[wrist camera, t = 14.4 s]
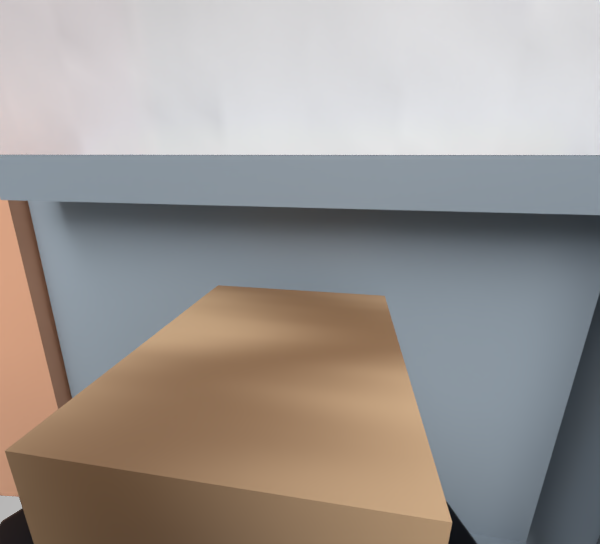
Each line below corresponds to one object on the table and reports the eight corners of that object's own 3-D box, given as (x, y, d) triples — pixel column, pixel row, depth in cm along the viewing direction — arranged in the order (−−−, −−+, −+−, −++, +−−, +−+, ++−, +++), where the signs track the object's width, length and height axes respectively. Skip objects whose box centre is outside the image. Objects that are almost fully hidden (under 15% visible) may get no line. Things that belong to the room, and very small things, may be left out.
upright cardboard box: (384, 295, 7) (451, 524, 2) (366, 496, 9) (384, 865, 4) (218, 285, 8) (5, 450, 3) (230, 475, 9) (106, 776, 5)
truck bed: (754, 167, 8) (1567, 136, 3) (614, 521, 11) (845, 820, 6) (78, 163, 11) (-190, 144, 5) (128, 448, 14) (-6, 610, 9)
